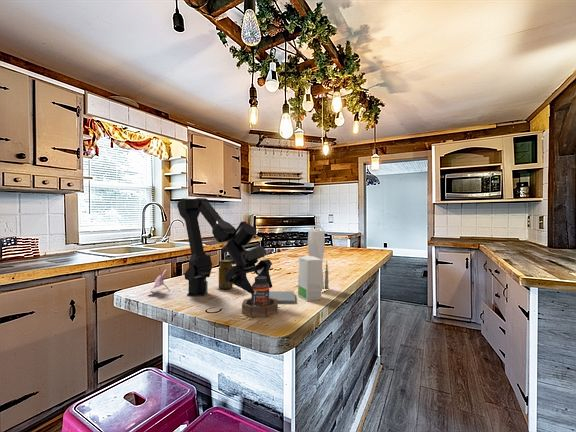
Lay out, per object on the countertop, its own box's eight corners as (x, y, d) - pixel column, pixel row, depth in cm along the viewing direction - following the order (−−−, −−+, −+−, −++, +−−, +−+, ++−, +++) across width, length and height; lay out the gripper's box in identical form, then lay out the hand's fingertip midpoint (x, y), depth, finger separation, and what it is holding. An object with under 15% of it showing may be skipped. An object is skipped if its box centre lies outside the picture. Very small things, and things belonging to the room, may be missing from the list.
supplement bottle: (255, 315, 90) (255, 280, 90) (248, 309, 95) (248, 276, 95) (272, 312, 93) (272, 278, 93) (265, 306, 98) (265, 274, 98)
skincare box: (297, 295, 112) (297, 256, 112) (312, 293, 114) (312, 255, 114) (307, 301, 104) (307, 259, 104) (322, 299, 107) (323, 258, 107)
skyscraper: (321, 294, 115) (322, 225, 114) (303, 291, 119) (304, 225, 118) (329, 289, 122) (329, 225, 122) (312, 287, 126) (312, 224, 126)
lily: (160, 289, 123) (148, 272, 120) (184, 280, 121) (172, 262, 119) (147, 306, 112) (134, 287, 109) (173, 296, 110) (160, 276, 107)
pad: (262, 303, 102) (262, 300, 102) (264, 293, 114) (264, 291, 114) (295, 303, 102) (295, 300, 102) (293, 293, 114) (293, 291, 114)
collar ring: (240, 317, 88) (240, 307, 88) (245, 305, 100) (245, 296, 100) (277, 317, 88) (277, 307, 88) (277, 305, 100) (278, 296, 100)
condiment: (229, 285, 127) (229, 258, 127) (238, 289, 121) (238, 261, 121) (214, 287, 123) (214, 260, 123) (223, 292, 116) (223, 263, 116)
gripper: (230, 241, 89) (257, 280, 82) (268, 237, 104) (292, 270, 98) (214, 263, 93) (237, 302, 87) (252, 256, 109) (274, 289, 102)
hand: (262, 290), depth 93 cm, fingers open, 9 cm apart
